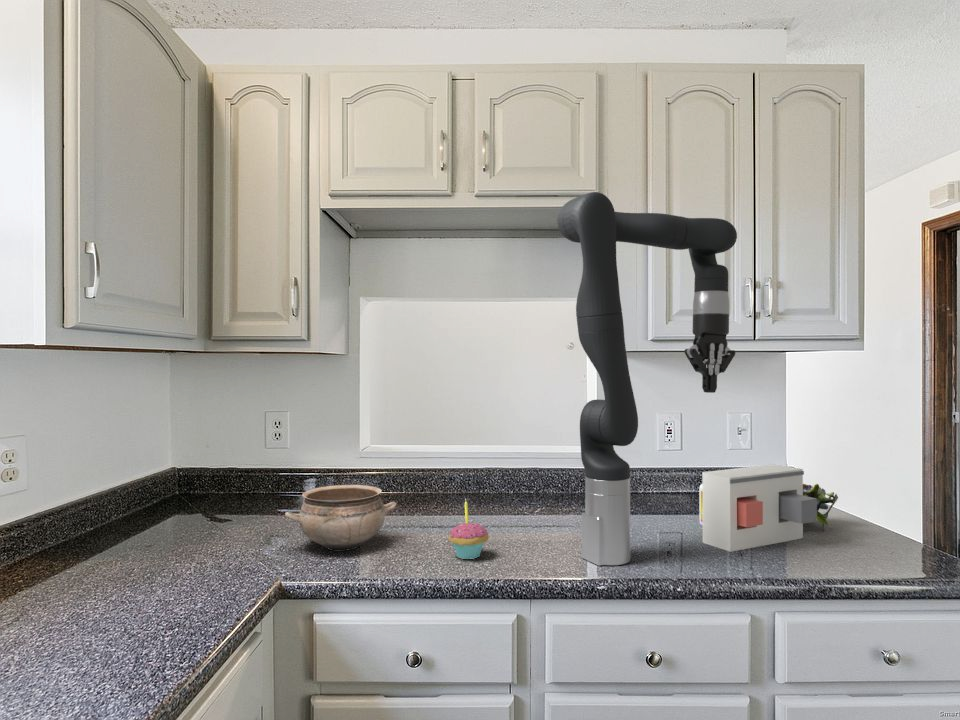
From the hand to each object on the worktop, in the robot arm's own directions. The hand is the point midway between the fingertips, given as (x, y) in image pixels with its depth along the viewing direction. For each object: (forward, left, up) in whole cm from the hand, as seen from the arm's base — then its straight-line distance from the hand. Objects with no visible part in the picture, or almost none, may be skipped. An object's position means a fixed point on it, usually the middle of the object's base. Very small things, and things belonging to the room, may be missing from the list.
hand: (709, 392), depth 144 cm
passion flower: (+36, +3, -35) cm, 50 cm away
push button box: (+14, +1, -34) cm, 37 cm away
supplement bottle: (+16, +15, -35) cm, 41 cm away
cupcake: (-49, +20, -35) cm, 63 cm away
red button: (+7, -2, -29) cm, 30 cm away
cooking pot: (-71, +40, -35) cm, 88 cm away
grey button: (+20, -6, -29) cm, 36 cm away
